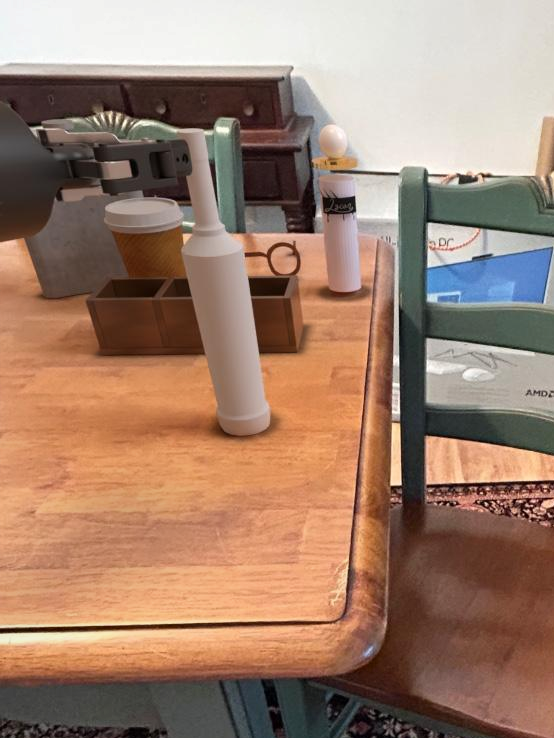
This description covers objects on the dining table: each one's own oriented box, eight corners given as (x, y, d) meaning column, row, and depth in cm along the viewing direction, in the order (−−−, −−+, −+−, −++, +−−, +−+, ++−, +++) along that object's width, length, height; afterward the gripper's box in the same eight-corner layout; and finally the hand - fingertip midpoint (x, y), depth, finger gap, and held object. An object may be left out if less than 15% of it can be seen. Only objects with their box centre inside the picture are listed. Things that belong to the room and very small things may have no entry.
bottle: (209, 423, 73) (143, 129, 57) (254, 407, 76) (204, 123, 60) (236, 442, 71) (174, 139, 54) (282, 425, 73) (236, 131, 57)
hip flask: (44, 299, 100) (-16, 126, 87) (43, 290, 103) (-15, 121, 90) (165, 285, 105) (125, 119, 92) (161, 276, 108) (122, 114, 94)
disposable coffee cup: (204, 290, 103) (184, 195, 95) (198, 314, 96) (177, 213, 88) (133, 294, 102) (108, 197, 94) (122, 318, 95) (93, 216, 87)
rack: (102, 355, 86) (85, 300, 82) (121, 329, 92) (106, 277, 88) (297, 352, 87) (290, 298, 83) (303, 327, 93) (297, 275, 89)
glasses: (210, 285, 105) (202, 248, 102) (211, 258, 114) (205, 223, 111) (303, 280, 107) (298, 243, 104) (297, 253, 117) (292, 219, 113)
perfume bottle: (323, 286, 105) (306, 121, 92) (363, 284, 106) (352, 120, 93) (326, 300, 101) (309, 128, 87) (368, 297, 101) (357, 127, 88)
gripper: (10, 95, 37) (210, 93, 49) (-181, 92, 41) (47, 91, 53) (56, 257, 41) (229, 218, 53) (-122, 240, 45) (77, 207, 58)
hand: (138, 155), depth 53 cm, fingers open, 8 cm apart
